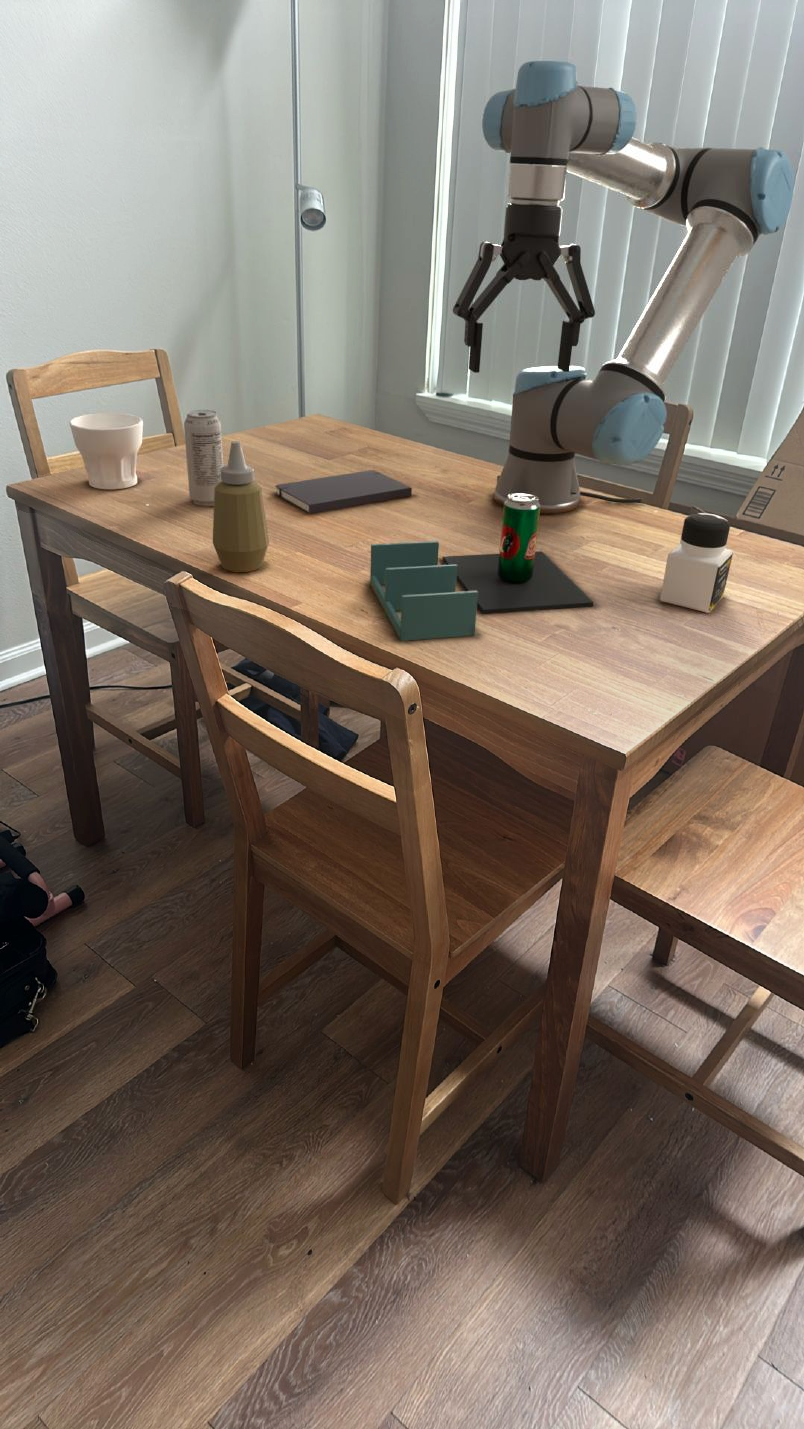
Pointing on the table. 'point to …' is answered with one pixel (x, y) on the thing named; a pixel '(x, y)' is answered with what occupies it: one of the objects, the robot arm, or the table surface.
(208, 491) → the energy drink can
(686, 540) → the medicine bottle
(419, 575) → the frame
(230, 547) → the squeeze bottle
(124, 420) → the cup
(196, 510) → the table surface
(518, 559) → the soda can
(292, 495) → the notebook
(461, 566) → the mat
